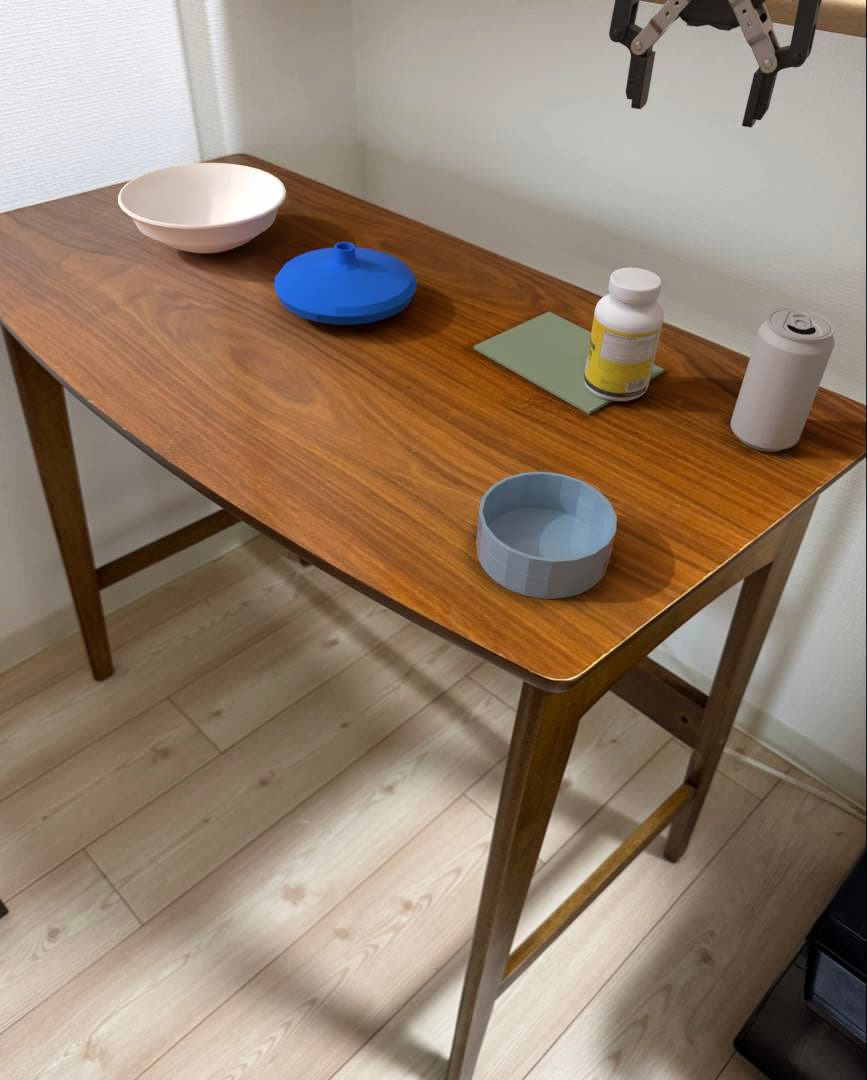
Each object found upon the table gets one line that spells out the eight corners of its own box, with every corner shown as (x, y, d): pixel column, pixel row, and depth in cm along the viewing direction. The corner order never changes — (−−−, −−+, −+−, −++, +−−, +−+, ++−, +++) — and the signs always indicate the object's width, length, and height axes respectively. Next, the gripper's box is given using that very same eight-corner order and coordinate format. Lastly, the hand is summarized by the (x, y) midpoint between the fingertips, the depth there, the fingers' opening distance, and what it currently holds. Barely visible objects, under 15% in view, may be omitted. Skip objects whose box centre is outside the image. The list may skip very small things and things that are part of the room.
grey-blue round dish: (536, 492, 78) (542, 455, 75) (634, 555, 73) (644, 518, 70) (449, 547, 73) (451, 509, 70) (548, 620, 67) (554, 582, 64)
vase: (248, 300, 102) (242, 240, 97) (359, 262, 110) (358, 205, 105) (331, 357, 93) (328, 294, 89) (445, 312, 101) (447, 252, 97)
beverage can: (730, 451, 84) (767, 335, 76) (725, 413, 88) (759, 300, 80) (801, 460, 83) (845, 344, 75) (792, 421, 88) (833, 308, 80)
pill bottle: (608, 362, 94) (628, 256, 86) (660, 388, 91) (686, 279, 83) (569, 385, 90) (586, 276, 83) (621, 412, 87) (644, 301, 79)
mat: (663, 372, 94) (664, 369, 93) (589, 414, 87) (589, 411, 87) (548, 314, 102) (549, 311, 102) (473, 349, 96) (473, 345, 95)
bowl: (98, 266, 107) (86, 214, 103) (170, 203, 121) (162, 154, 117) (256, 289, 104) (250, 235, 100) (311, 221, 118) (308, 172, 114)
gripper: (623, -154, 58) (588, 113, 69) (854, -139, 53) (778, 145, 64) (654, -161, 63) (618, 89, 74) (868, -148, 59) (796, 117, 69)
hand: (693, 115), depth 69 cm, fingers open, 8 cm apart
